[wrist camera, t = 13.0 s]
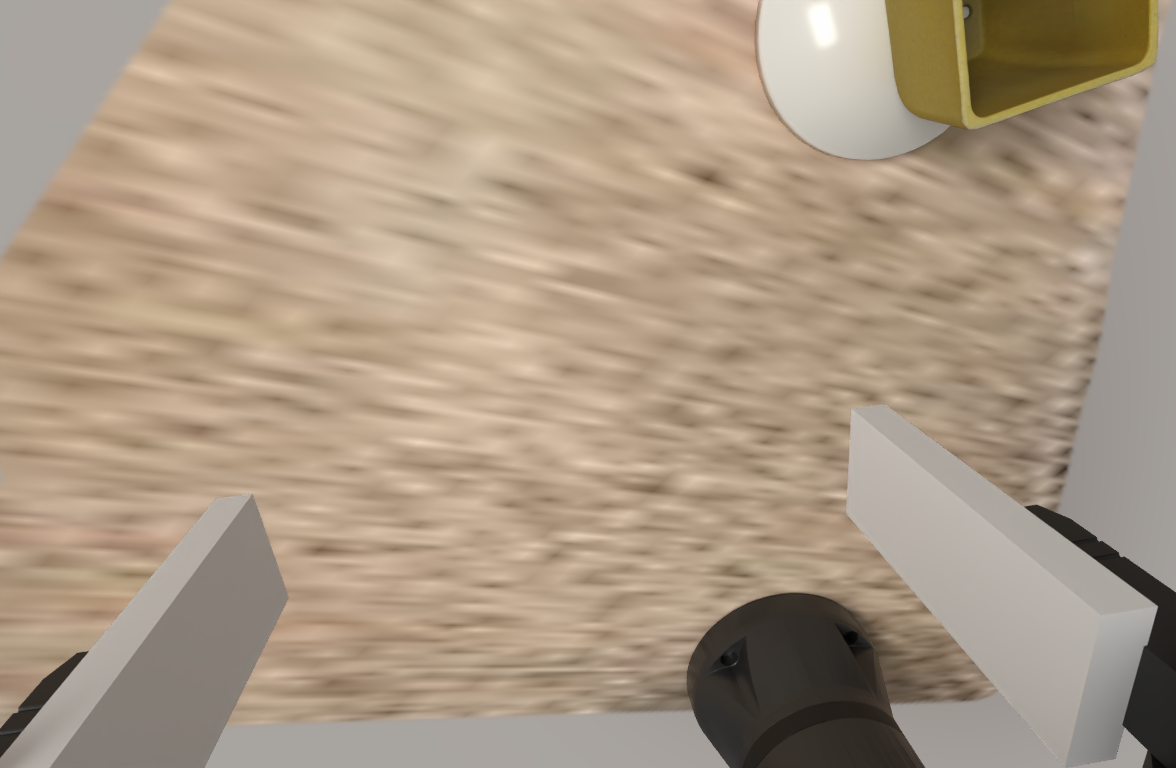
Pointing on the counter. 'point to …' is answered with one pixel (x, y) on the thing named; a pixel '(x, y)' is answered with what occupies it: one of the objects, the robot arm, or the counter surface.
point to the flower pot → (1013, 53)
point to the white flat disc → (836, 77)
